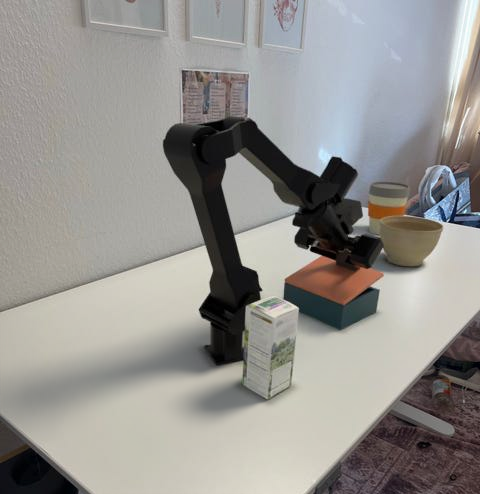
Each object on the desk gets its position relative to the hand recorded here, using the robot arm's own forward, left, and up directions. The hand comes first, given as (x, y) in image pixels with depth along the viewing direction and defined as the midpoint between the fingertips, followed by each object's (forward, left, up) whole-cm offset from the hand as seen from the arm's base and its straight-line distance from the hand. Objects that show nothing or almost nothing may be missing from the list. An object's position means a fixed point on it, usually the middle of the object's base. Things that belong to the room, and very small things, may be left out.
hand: (350, 263), depth 103 cm
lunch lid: (-2, +5, -2) cm, 6 cm away
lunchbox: (-2, +6, -9) cm, 11 cm away
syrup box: (-23, +32, -9) cm, 40 cm away
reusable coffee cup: (+42, -45, -9) cm, 63 cm away
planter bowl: (+16, -31, -9) cm, 37 cm away
